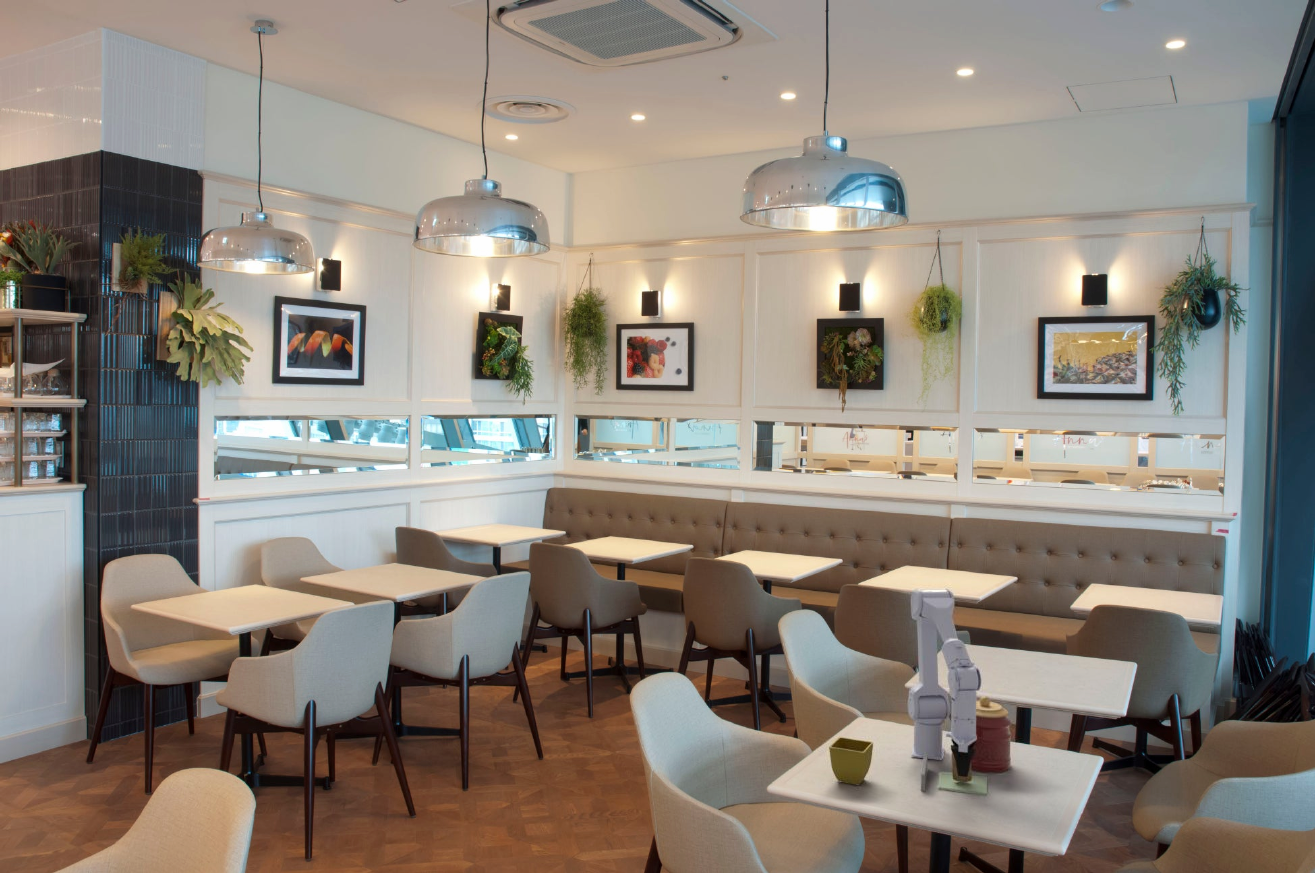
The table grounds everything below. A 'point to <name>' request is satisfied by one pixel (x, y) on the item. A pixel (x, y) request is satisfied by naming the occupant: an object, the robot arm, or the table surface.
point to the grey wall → (924, 771)
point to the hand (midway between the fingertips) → (962, 772)
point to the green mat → (963, 784)
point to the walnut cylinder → (955, 774)
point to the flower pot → (850, 759)
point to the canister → (991, 738)
